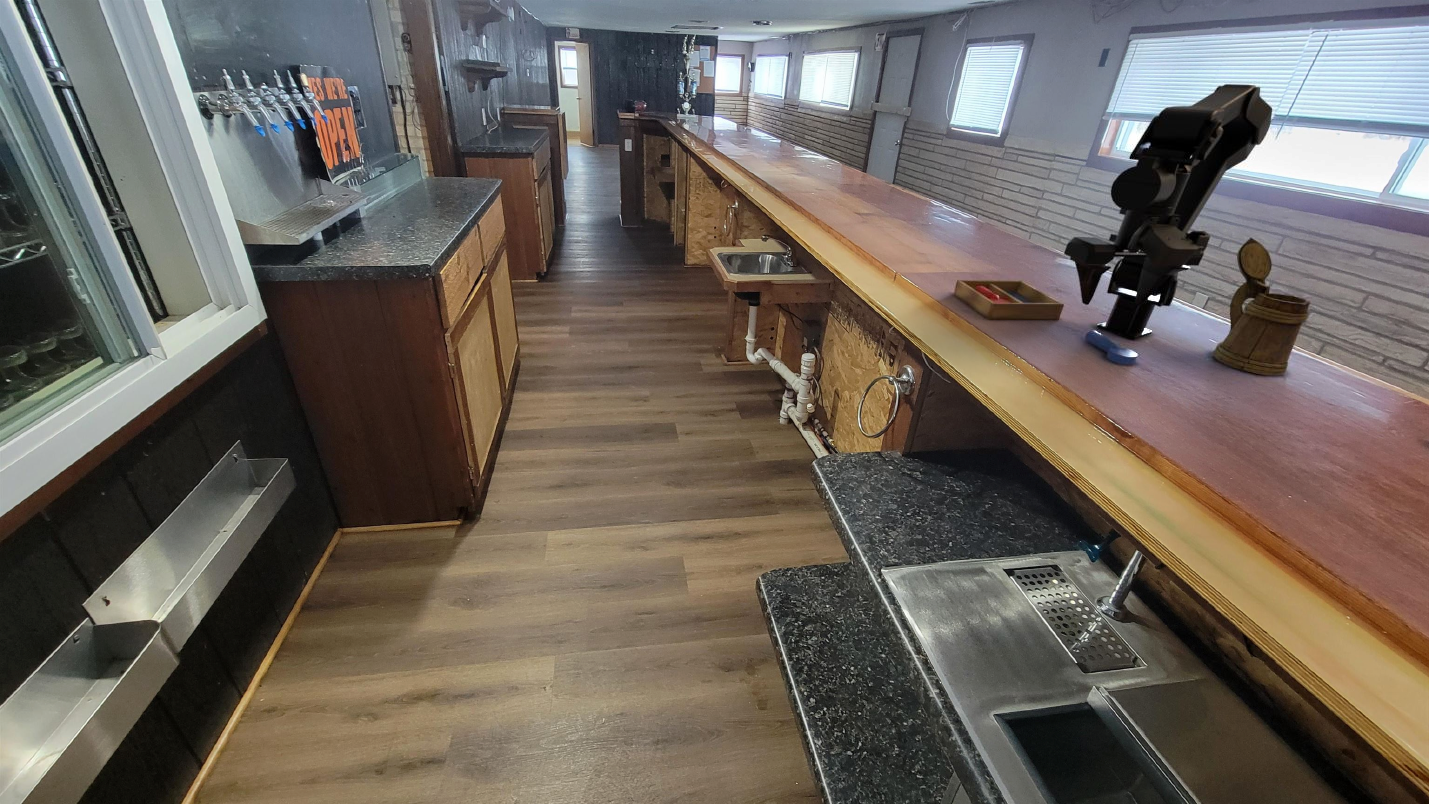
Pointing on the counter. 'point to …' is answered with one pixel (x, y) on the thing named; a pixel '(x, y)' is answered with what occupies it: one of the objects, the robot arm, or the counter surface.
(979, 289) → the red spoon
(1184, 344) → the counter surface
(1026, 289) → the cutlery tray
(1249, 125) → the robot arm
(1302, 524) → the counter surface
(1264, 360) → the wooden mug
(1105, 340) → the blue spoon
